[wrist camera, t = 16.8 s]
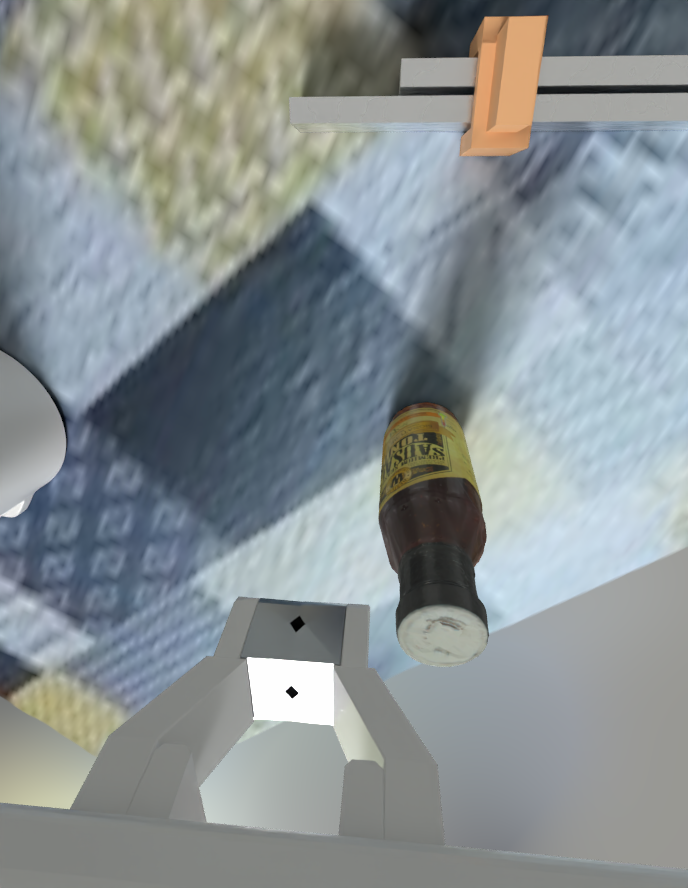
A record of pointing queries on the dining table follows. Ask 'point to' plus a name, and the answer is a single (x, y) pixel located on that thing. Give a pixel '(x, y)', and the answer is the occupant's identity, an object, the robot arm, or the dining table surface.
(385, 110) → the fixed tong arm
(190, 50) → the dining table surface
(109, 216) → the dining table surface
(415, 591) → the sauce bottle
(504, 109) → the collar
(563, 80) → the bar
